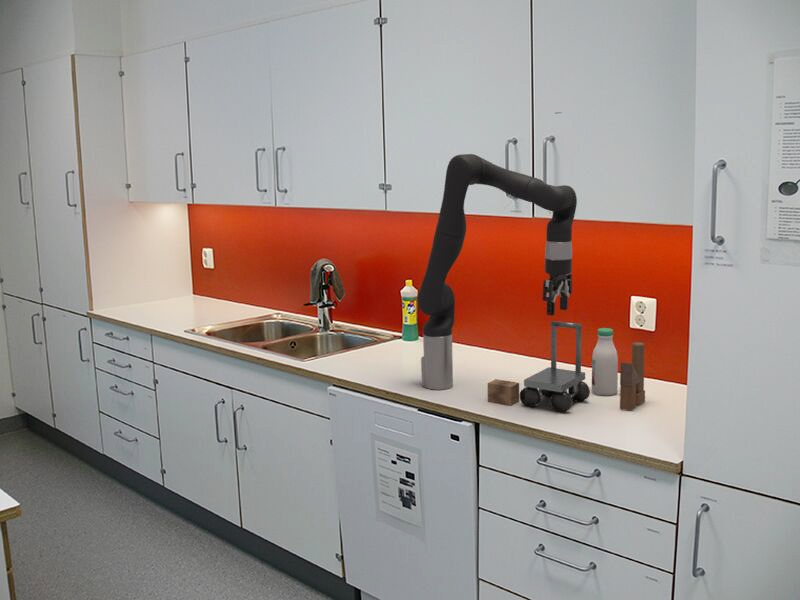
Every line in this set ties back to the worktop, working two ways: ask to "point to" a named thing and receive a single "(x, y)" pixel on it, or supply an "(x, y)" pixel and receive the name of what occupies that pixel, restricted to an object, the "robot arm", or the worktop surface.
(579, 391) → the trolley
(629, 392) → the wooden block
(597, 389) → the milk bottle
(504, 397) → the block
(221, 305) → the worktop surface
